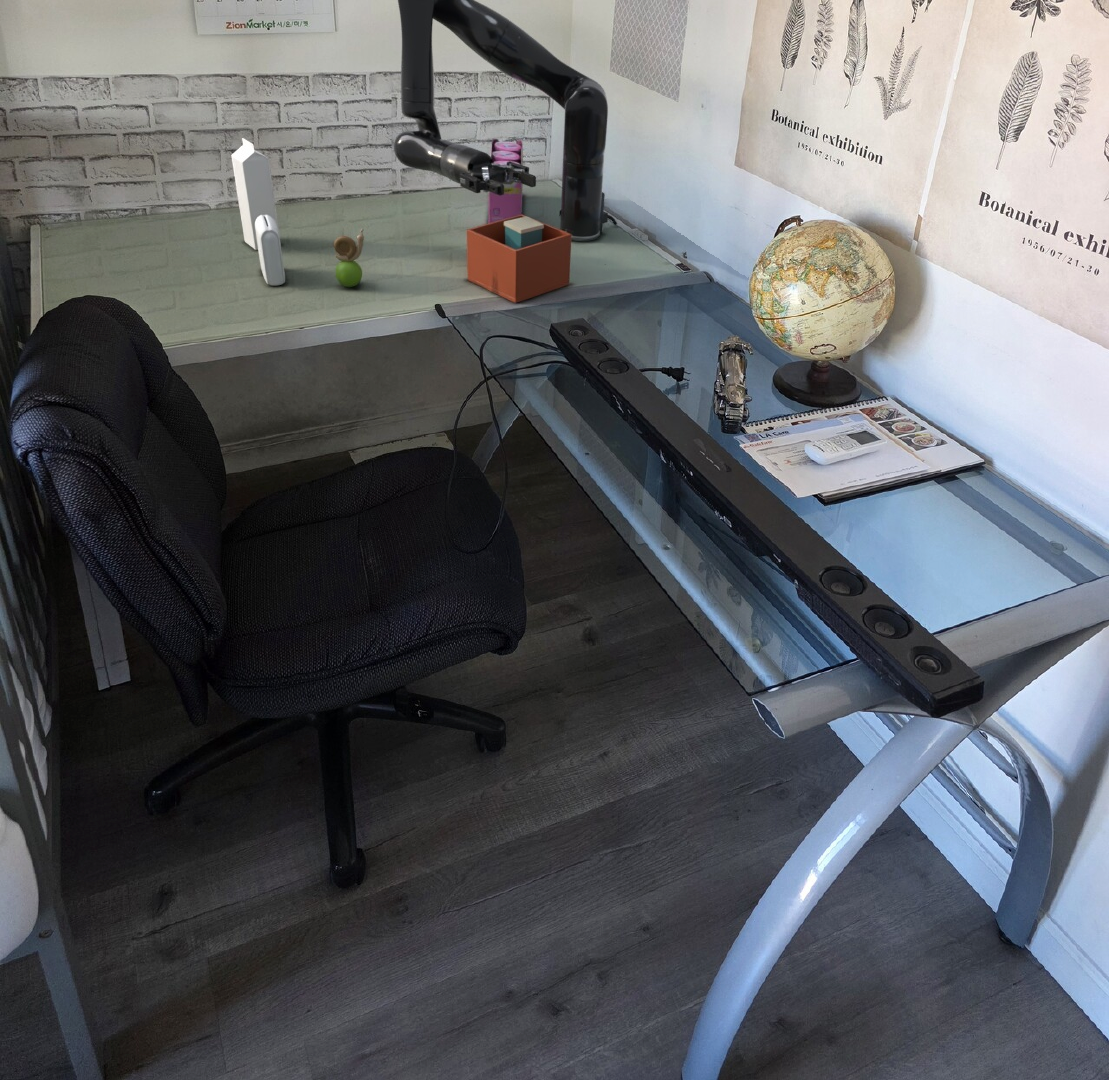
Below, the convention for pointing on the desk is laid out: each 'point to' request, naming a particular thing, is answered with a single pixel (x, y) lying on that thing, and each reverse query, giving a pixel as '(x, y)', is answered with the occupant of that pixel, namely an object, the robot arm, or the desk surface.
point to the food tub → (522, 232)
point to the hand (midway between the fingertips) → (519, 186)
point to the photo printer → (269, 250)
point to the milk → (253, 189)
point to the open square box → (518, 261)
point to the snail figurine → (348, 260)
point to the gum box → (512, 196)
